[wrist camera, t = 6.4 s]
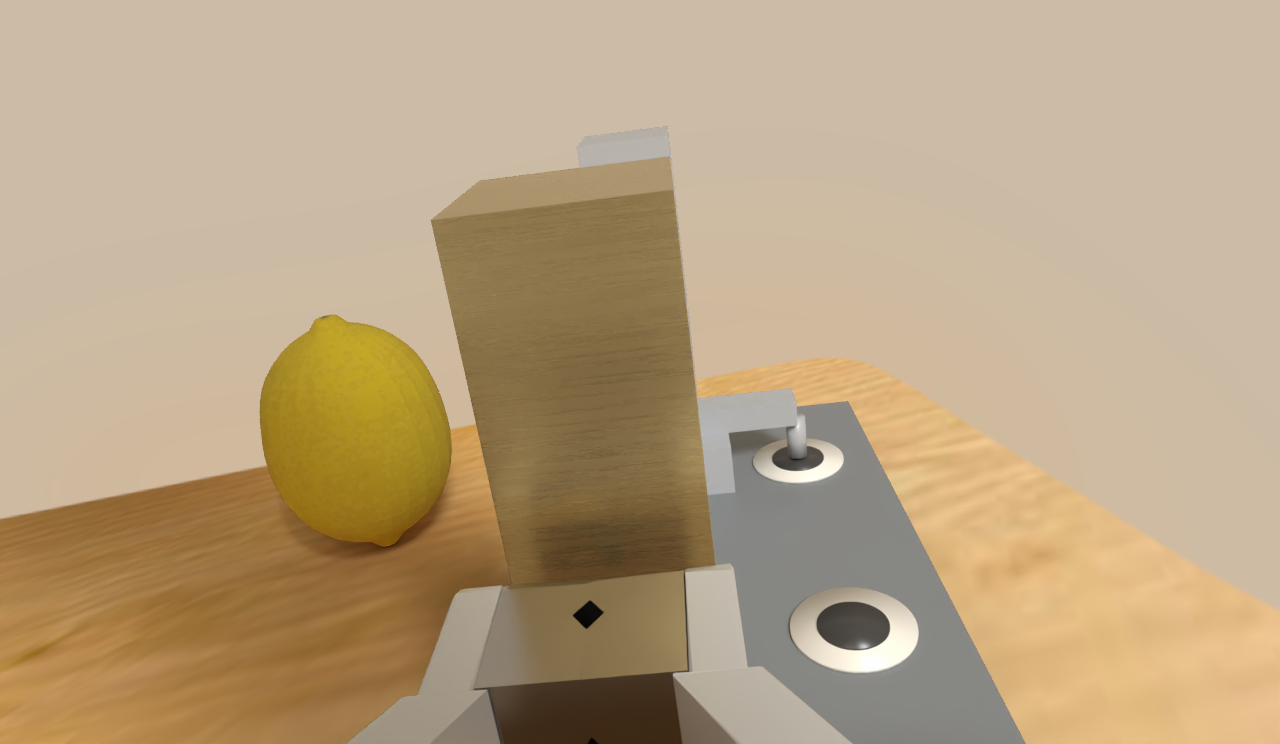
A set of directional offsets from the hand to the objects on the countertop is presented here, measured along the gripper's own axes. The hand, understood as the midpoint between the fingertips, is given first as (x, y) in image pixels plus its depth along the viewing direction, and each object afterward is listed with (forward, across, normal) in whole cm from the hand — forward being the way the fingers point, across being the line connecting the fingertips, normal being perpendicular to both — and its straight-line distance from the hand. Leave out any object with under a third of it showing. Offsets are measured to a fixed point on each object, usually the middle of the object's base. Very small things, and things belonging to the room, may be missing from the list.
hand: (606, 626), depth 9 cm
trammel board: (+10, -2, +8) cm, 13 cm away
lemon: (+16, +9, +9) cm, 20 cm away
